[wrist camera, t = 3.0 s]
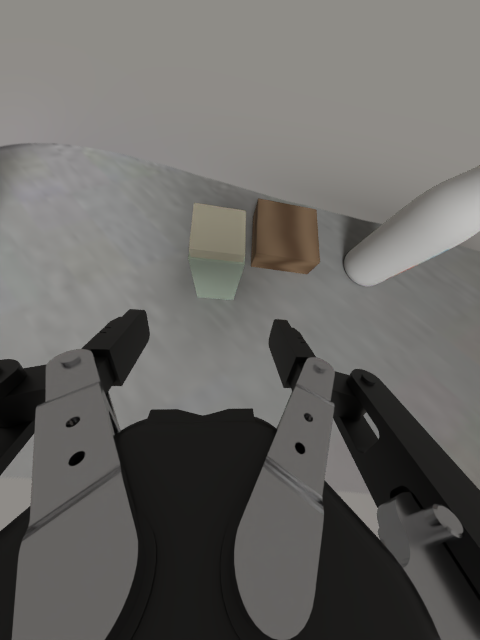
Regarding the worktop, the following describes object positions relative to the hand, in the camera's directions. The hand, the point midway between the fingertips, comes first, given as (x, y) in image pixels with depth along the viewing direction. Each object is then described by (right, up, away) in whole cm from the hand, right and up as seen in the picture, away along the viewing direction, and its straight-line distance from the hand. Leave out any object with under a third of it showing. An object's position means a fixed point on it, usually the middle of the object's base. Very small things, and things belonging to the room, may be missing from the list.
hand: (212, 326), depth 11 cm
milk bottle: (+24, +10, +21) cm, 34 cm away
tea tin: (-2, +6, +16) cm, 17 cm away
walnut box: (+9, +14, +19) cm, 25 cm away
